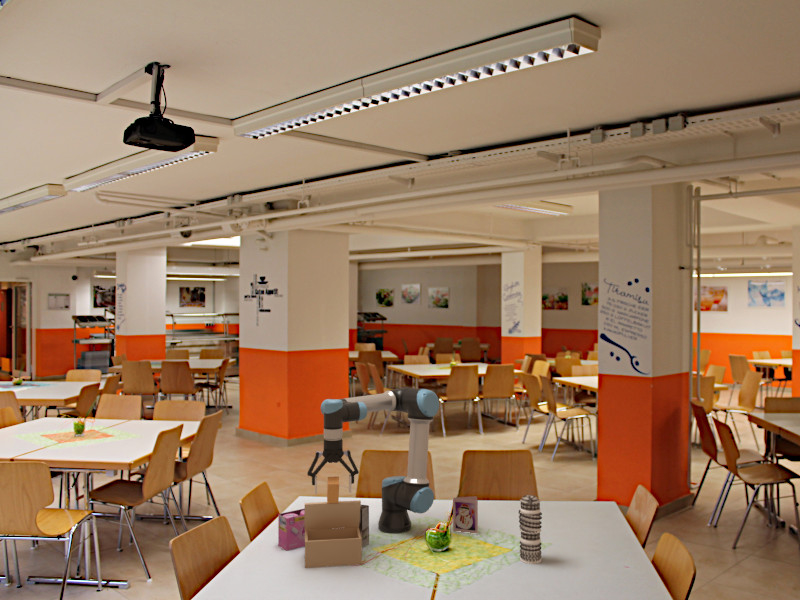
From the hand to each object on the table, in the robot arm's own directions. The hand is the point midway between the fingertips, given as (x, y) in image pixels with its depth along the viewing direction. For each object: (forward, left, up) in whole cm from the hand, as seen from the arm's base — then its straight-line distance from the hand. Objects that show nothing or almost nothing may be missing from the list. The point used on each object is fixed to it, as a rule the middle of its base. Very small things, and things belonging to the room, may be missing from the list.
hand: (333, 492), depth 253 cm
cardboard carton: (0, -2, -27) cm, 27 cm away
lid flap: (0, -3, -6) cm, 7 cm away
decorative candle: (-78, +10, -27) cm, 83 cm away
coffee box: (-11, -18, -27) cm, 35 cm away
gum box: (+11, -24, -28) cm, 38 cm away
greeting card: (-62, -28, -27) cm, 73 cm away
